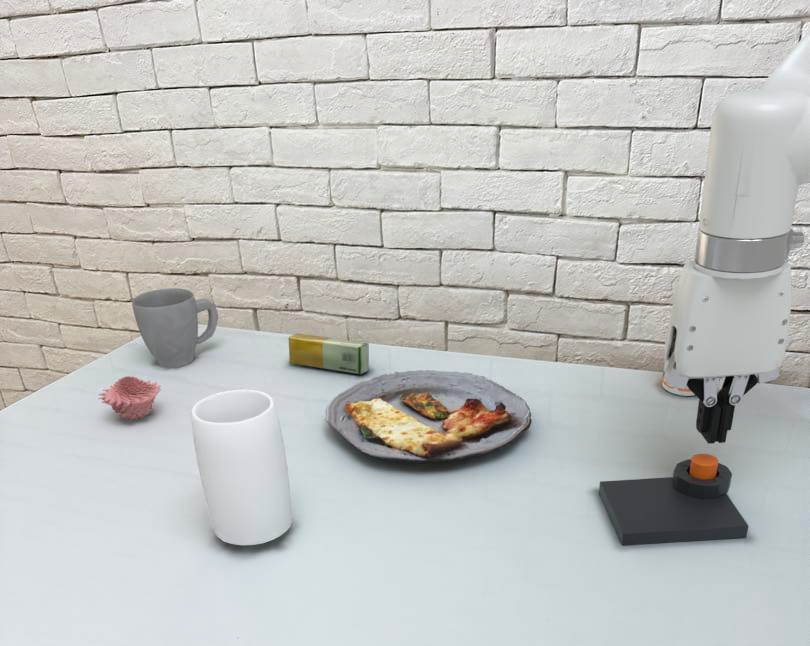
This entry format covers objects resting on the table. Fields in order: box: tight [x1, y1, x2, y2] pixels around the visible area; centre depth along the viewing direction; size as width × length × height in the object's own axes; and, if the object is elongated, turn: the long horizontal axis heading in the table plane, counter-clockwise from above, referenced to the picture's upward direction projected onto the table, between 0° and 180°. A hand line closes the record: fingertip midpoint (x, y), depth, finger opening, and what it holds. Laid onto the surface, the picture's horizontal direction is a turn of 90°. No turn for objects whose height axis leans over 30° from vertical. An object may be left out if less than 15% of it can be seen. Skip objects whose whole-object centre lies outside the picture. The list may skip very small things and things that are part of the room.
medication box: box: [288, 332, 370, 376], centre depth 121 cm, size 12×3×4 cm, turn 65°
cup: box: [190, 389, 293, 546], centre depth 83 cm, size 8×8×14 cm
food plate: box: [324, 369, 532, 464], centre depth 104 cm, size 25×23×4 cm
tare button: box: [689, 453, 719, 480], centre depth 87 cm, size 3×3×2 cm
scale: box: [598, 458, 749, 546], centre depth 86 cm, size 13×11×3 cm
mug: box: [131, 287, 219, 369], centre depth 126 cm, size 12×9×10 cm
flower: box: [98, 375, 162, 421], centre depth 110 cm, size 8×8×6 cm
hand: (711, 436), depth 85 cm, fingers closed
